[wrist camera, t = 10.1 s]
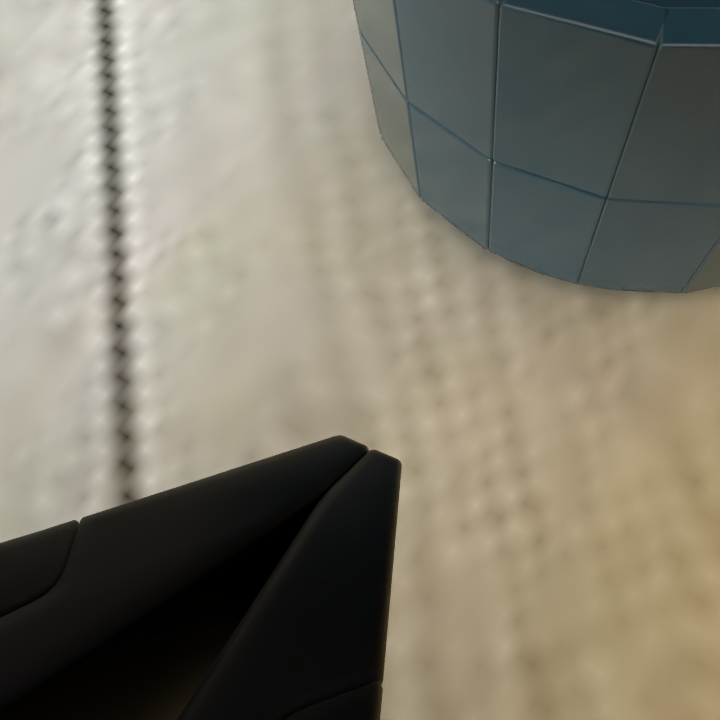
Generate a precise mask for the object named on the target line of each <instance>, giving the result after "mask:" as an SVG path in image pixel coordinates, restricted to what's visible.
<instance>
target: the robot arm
mask: <svg viewBox="0 0 720 720" xmlns="http://www.w3.org/2000/svg"><path fill="white" fill-rule="evenodd" d="M401 467H402V465H401V462H400V461H399V460H398V459H396V458H393V457H391V456H389V455H386V454H384V453H382V452H379V451H377V450H370V451H369V449H368V448H367V446H365V445H363V444H361V443H359V442H356V441H354V440H352V439H349V438H347V437H345V436H341V435H339V436H334V437H331V438H328V439H325V440H321V441H318V442H315V443H312V444H309V445H306V446H303V447H300V448H297V449H294V450H291V451H287V452H284V453H281V454H278V455H275V456H272V457H269V458H266V459H263V460H260V461H256V462H253V463H250V464H247V465H244V466H241V467H238V468H235V469H232V470H229V471H225V472H222V473H219V474H216V475H213V476H210V477H207V478H204V479H201V480H198V481H194V482H191V483H188V484H185V485H182V486H179V487H176V488H173V489H170V490H167V491H164V492H160V493H157V494H154V495H151V496H148V497H145V498H142V499H139V500H136V501H133V502H129V503H126V504H123V505H120V506H117V507H114V508H111V509H108V510H105V511H102V512H98V513H95V514H92V515H89V516H86V517H83V518H82V519H81V521H80V524H79V522H78V521H76V520H73V521H70V522H67V523H64V524H60V525H57V526H54V527H51V528H48V529H45V530H42V531H39V532H35V533H32V534H29V535H25V536H22V537H19V538H15V539H12V540H9V541H5V542H2V543H0V720H380V713H381V702H382V686H381V685H382V682H383V674H384V663H385V651H386V640H387V628H388V617H389V605H390V594H391V582H392V571H393V559H394V548H395V536H396V525H397V513H398V502H399V490H400V479H401Z"/></svg>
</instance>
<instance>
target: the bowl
mask: <svg viewBox="0 0 720 720" xmlns="http://www.w3.org/2000/svg"><path fill="white" fill-rule="evenodd" d="M353 4H354V9H355V14H356V19H357V23H358V28H359V33H360V38H361V43H362V48H363V53H364V58H365V63H366V68H367V73H368V78H369V83H370V88H371V92H372V97H373V102H374V107H375V112H376V117H377V122H378V127H379V132H380V134H381V137H382V140H383V141H384V143H385V144H386V146H387V147H388V149H389V151H390V152H391V154H392V155H393V157H394V158H395V160H396V162H397V163H398V165H399V166H400V168H401V169H402V171H403V173H404V174H405V176H406V177H407V179H408V180H409V182H410V184H411V185H412V187H413V188H414V190H415V191H416V193H417V194H418V196H419V197H421V199H422V201H424V202H425V203H426V204H428V205H429V206H430V207H432V208H433V209H434V210H435V211H437V212H438V213H439V214H441V215H442V216H443V217H444V218H446V219H447V220H448V221H450V222H451V223H452V224H454V225H455V226H456V227H457V228H459V229H460V230H461V231H463V232H464V233H465V234H466V235H468V236H469V237H470V238H472V239H473V240H474V241H475V242H477V243H478V244H479V245H481V246H482V247H483V248H485V249H489V251H490V252H492V253H495V254H498V255H500V256H502V257H503V258H505V259H507V260H509V261H511V262H514V263H516V264H519V265H521V266H523V267H526V268H528V269H531V270H533V271H535V272H538V273H540V274H543V275H547V276H550V277H554V278H557V279H561V280H564V281H568V282H572V283H575V284H579V285H586V286H592V287H599V288H605V289H611V290H623V291H643V292H671V293H681V292H682V293H686V292H691V291H696V290H701V289H707V288H712V287H717V286H720V0H353Z"/></svg>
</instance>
